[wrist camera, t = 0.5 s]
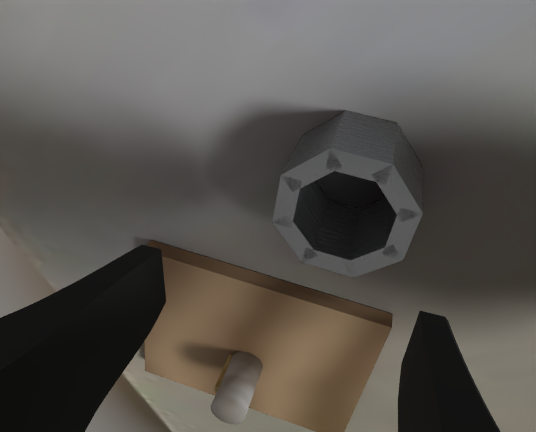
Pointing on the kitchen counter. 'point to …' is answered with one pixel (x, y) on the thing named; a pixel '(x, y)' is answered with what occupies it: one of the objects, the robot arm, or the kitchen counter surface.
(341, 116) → the hub
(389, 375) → the kitchen counter surface
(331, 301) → the thin wooden board
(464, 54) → the kitchen counter surface
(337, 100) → the kitchen counter surface
